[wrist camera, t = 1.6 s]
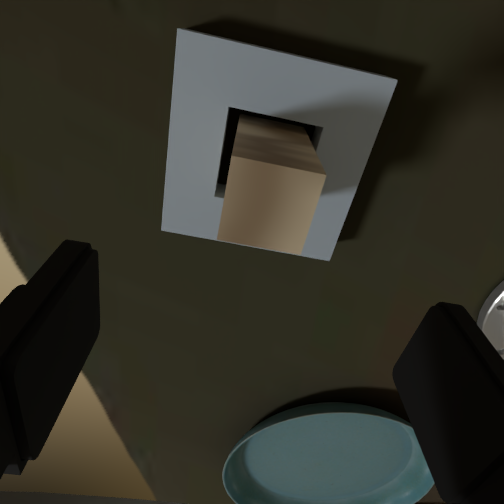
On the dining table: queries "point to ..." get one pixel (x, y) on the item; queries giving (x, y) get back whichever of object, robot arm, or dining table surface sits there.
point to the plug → (271, 186)
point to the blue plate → (328, 458)
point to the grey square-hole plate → (273, 104)
